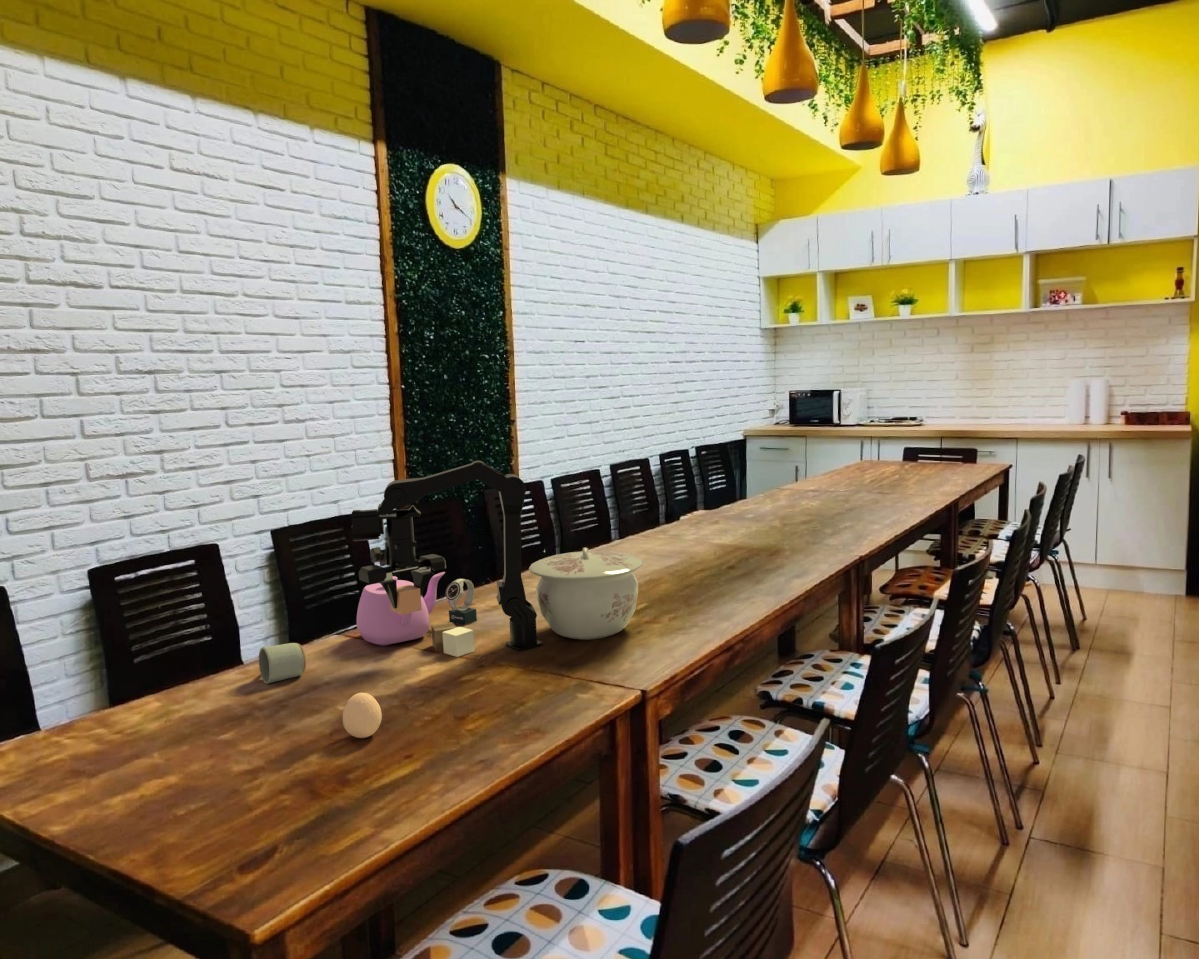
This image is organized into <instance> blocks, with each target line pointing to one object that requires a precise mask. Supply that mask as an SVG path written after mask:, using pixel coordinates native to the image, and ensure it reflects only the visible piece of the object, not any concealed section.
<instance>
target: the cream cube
mask: <svg viewBox="0 0 1199 959" xmlns="http://www.w3.org/2000/svg"><path fill="white" fill-rule="evenodd" d="M456 627H457V628H454V629H451V630H447V631H444V632H442V634H443V648H444V650H443V653H444V654H446V655H449V656H453V657H456V658H458V657H462V656H464V655H467V654H471V653H473V652H475V651H476V649H475V635H474V634H475V633H474V629H470V628H467V627H462V626H456Z"/></svg>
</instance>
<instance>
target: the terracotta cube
mask: <svg viewBox="0 0 1199 959" xmlns="http://www.w3.org/2000/svg"><path fill="white" fill-rule="evenodd" d="M390 603H391V602H390ZM420 610H422V608H421V595H420V588H417V587H415V586H412V585H406V586H401V587H397V608H396V609H395V608H393V606H392V604H391V611H393V612H395V613H398V614H400V615H403V614H407V613H411V612H416V611H420Z"/></svg>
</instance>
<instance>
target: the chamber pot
mask: <svg viewBox="0 0 1199 959" xmlns="http://www.w3.org/2000/svg"><path fill="white" fill-rule="evenodd" d="M643 566H644V561H643V559H642V558H639V557H638V556H636V555H632V554H628V553H624V552H619V551H611V550H608V551H606V550H605V551H604V550H589V548H588V547H582V550H581V551H573V552H572V551H571V552H565V553H559V554H554V555H551V556H550V555H549V556H547V557H544V558H542V559H538V560H537V561H535V562H532V563H531V564H530V566H529V568H528V570H529V571H530V572H531V574H533V575H535V576H538V577H539V578H540V579H539V581H538V582H537V584H536V587H535V594H536V595H535V596H536V602H537V604H538V609H539V612H540V614H541V615H542V617H543V619H544V620H545V621H546V623H547V624H548V626H549V627H550V628H551V630H552V631H553V632H554V633H555V634H556V635H558V636H561V637H564V638H569V639H573V640H578V641H579V640H580V641H587V640H589V641H591V640H600V639H603V638H608V637H610V636H613V635H615V634H618V633H620V632H621V631H624V629H625V628H626V627H627V626H628V624H629V622H630V621H631V619H632V617H633V615H634V613H635V611H636V609H637V608H636V607H637V602H638V596H639V595H638V594H639V581H638V579H637V578H636V576H635V574H634V572H636V571H637V570H639V569H640V568H642V567H643Z"/></svg>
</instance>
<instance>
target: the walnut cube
mask: <svg viewBox="0 0 1199 959" xmlns="http://www.w3.org/2000/svg"><path fill="white" fill-rule="evenodd" d="M430 627H431V629H430V630H431V643H432V647H433V648H434V650H435V651H436V652H442V651H443V652H444V648H443V634H442V632H444V631H447V630H451V629H454V628H457V627H458V626H456V624H455V623H453V622H444V623H438V624H430Z"/></svg>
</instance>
